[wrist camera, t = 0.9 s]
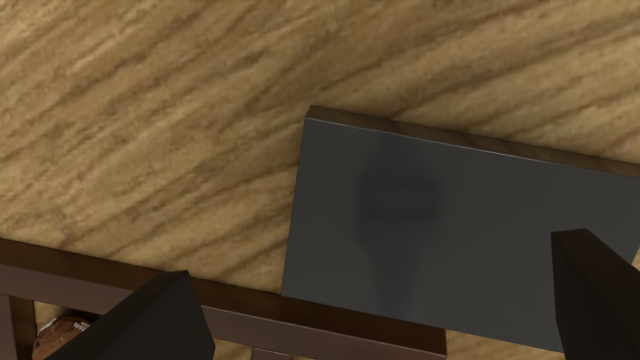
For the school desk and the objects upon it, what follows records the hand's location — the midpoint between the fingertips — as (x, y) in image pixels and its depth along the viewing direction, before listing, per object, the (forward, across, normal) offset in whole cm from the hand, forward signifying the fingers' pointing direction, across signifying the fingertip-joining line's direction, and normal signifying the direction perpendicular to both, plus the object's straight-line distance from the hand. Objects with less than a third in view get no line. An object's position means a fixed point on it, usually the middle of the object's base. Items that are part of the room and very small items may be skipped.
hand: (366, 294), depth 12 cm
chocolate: (+10, +15, +8) cm, 20 cm away
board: (+10, -2, +5) cm, 11 cm away
